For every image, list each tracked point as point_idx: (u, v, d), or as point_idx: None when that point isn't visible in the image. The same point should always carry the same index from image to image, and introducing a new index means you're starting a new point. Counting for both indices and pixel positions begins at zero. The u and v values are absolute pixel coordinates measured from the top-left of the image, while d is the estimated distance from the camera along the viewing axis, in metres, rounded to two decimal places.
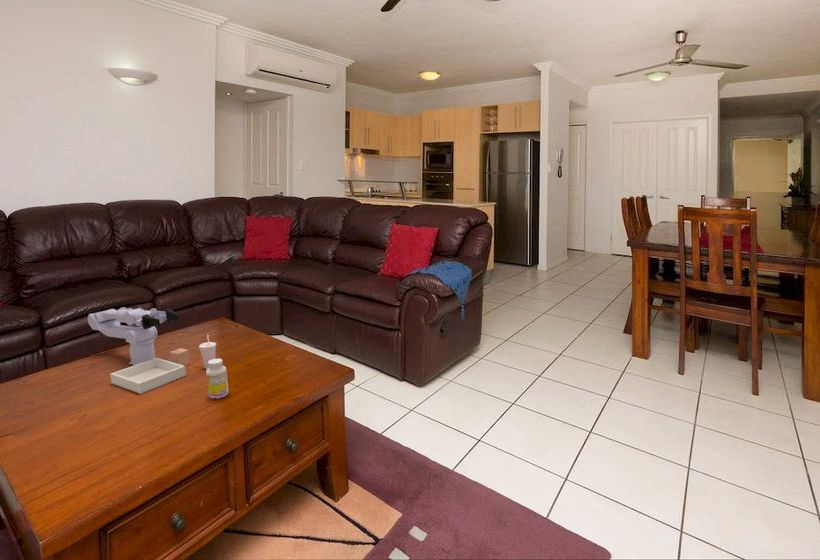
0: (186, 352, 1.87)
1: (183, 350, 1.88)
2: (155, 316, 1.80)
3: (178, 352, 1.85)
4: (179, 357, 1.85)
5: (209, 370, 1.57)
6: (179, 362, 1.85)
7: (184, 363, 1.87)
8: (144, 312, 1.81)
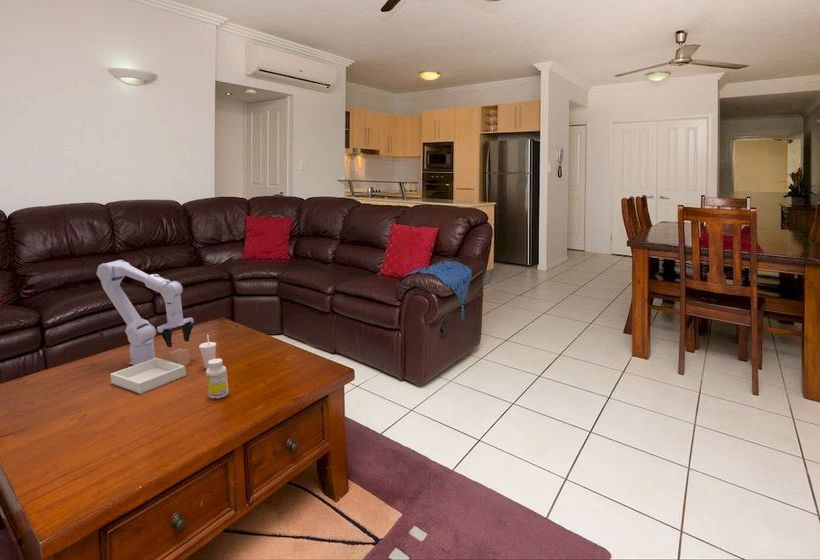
0: (186, 352, 1.87)
1: (183, 350, 1.88)
2: None
3: (178, 352, 1.85)
4: (179, 357, 1.85)
5: (209, 370, 1.57)
6: (179, 362, 1.85)
7: (184, 363, 1.87)
8: (175, 314, 1.81)
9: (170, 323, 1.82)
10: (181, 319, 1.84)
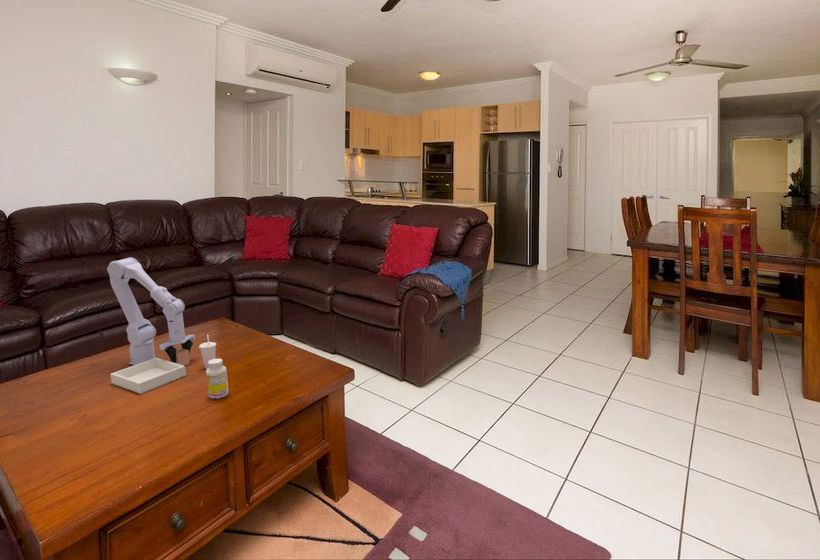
0: (186, 351, 1.87)
1: (183, 350, 1.88)
2: None
3: (178, 352, 1.85)
4: (179, 357, 1.85)
5: (209, 370, 1.57)
6: (179, 362, 1.85)
7: (184, 363, 1.87)
8: (177, 332, 1.83)
9: (172, 341, 1.83)
10: (183, 336, 1.85)
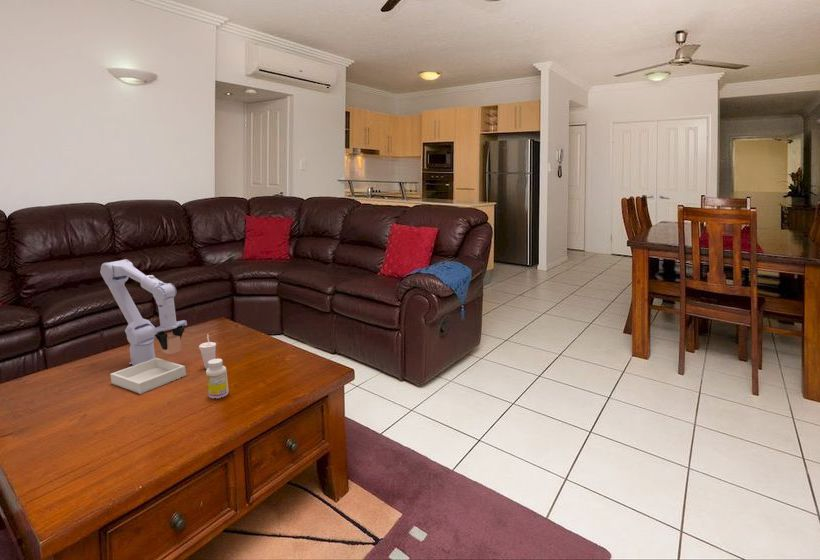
0: (177, 338, 1.82)
1: (174, 336, 1.83)
2: None
3: (169, 338, 1.81)
4: (170, 343, 1.80)
5: (209, 370, 1.57)
6: (171, 348, 1.80)
7: (175, 349, 1.82)
8: (168, 317, 1.78)
9: (163, 326, 1.78)
10: (174, 322, 1.80)
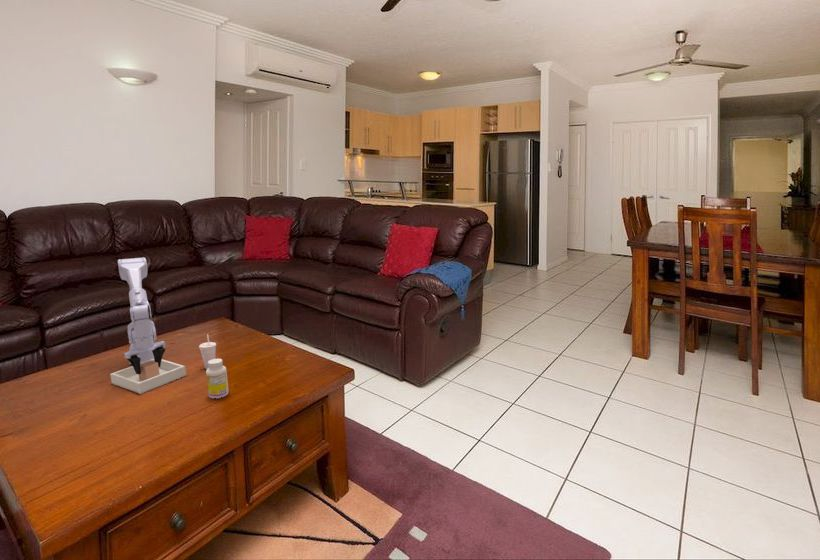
0: (155, 364, 1.73)
1: (152, 363, 1.73)
2: None
3: (146, 365, 1.71)
4: (147, 370, 1.70)
5: (209, 370, 1.57)
6: (148, 376, 1.71)
7: None
8: (144, 339, 1.68)
9: (139, 348, 1.68)
10: (151, 344, 1.70)
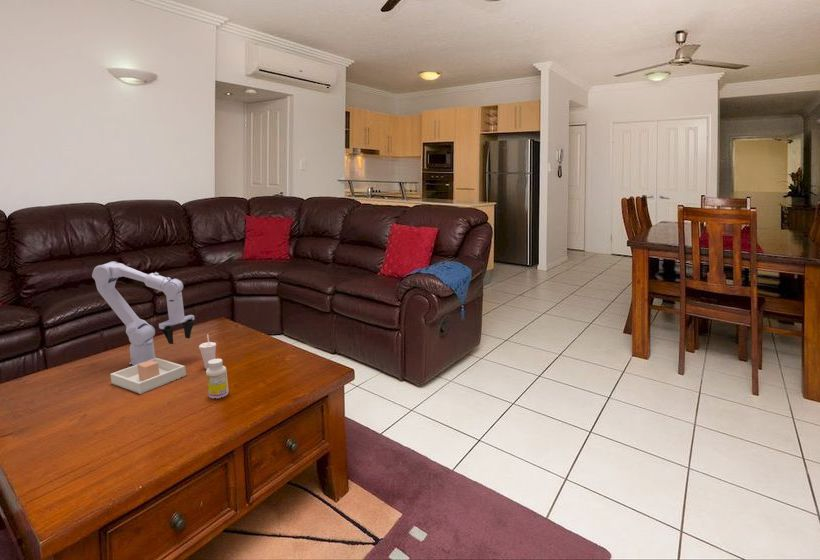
0: (155, 364, 1.73)
1: (152, 363, 1.73)
2: None
3: (146, 365, 1.71)
4: (147, 370, 1.70)
5: (209, 370, 1.57)
6: (148, 376, 1.71)
7: None
8: (177, 312, 1.84)
9: (171, 320, 1.84)
10: (182, 316, 1.86)
